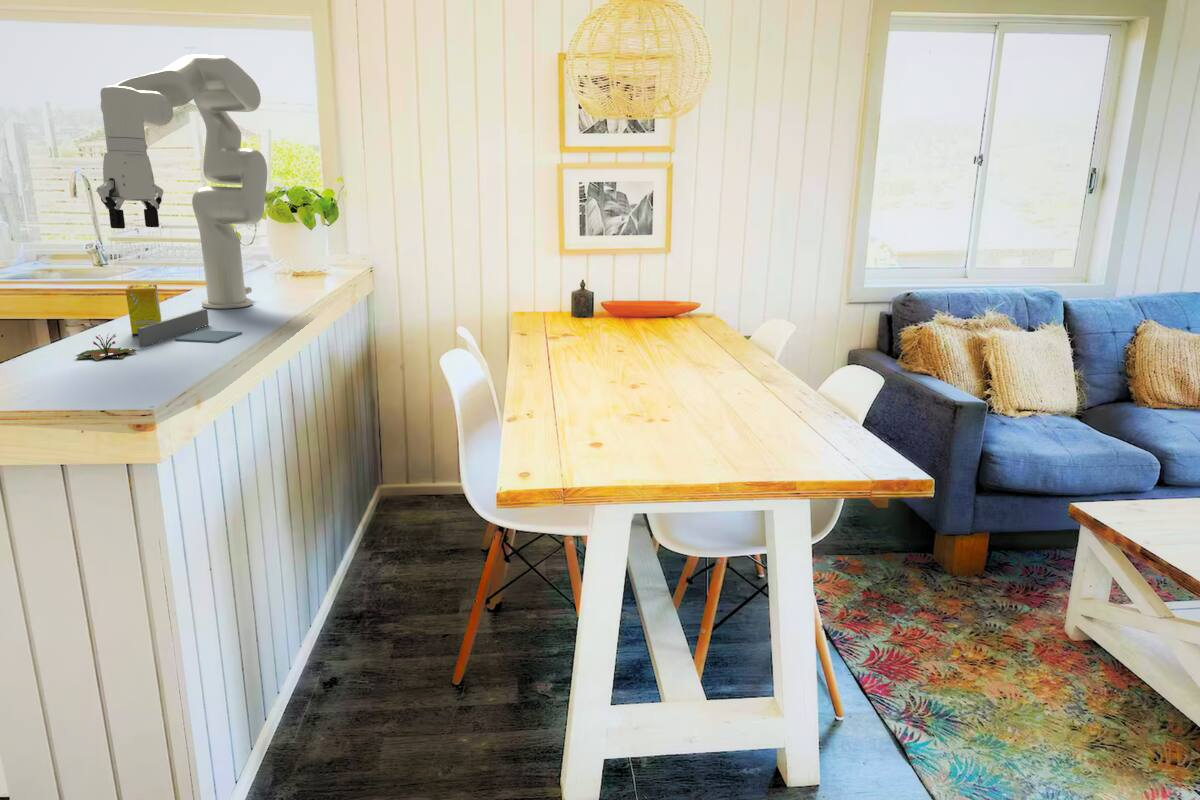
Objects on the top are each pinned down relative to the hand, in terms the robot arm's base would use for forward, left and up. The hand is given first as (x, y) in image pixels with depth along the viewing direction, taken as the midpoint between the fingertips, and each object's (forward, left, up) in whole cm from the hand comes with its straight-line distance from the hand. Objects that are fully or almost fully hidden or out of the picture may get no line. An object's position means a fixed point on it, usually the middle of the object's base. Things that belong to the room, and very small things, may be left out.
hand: (135, 227), depth 178 cm
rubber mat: (+2, +15, -24) cm, 28 cm away
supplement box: (+2, 0, -24) cm, 24 cm away
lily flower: (+22, +5, -25) cm, 33 cm away
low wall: (+2, +7, -24) cm, 25 cm away
